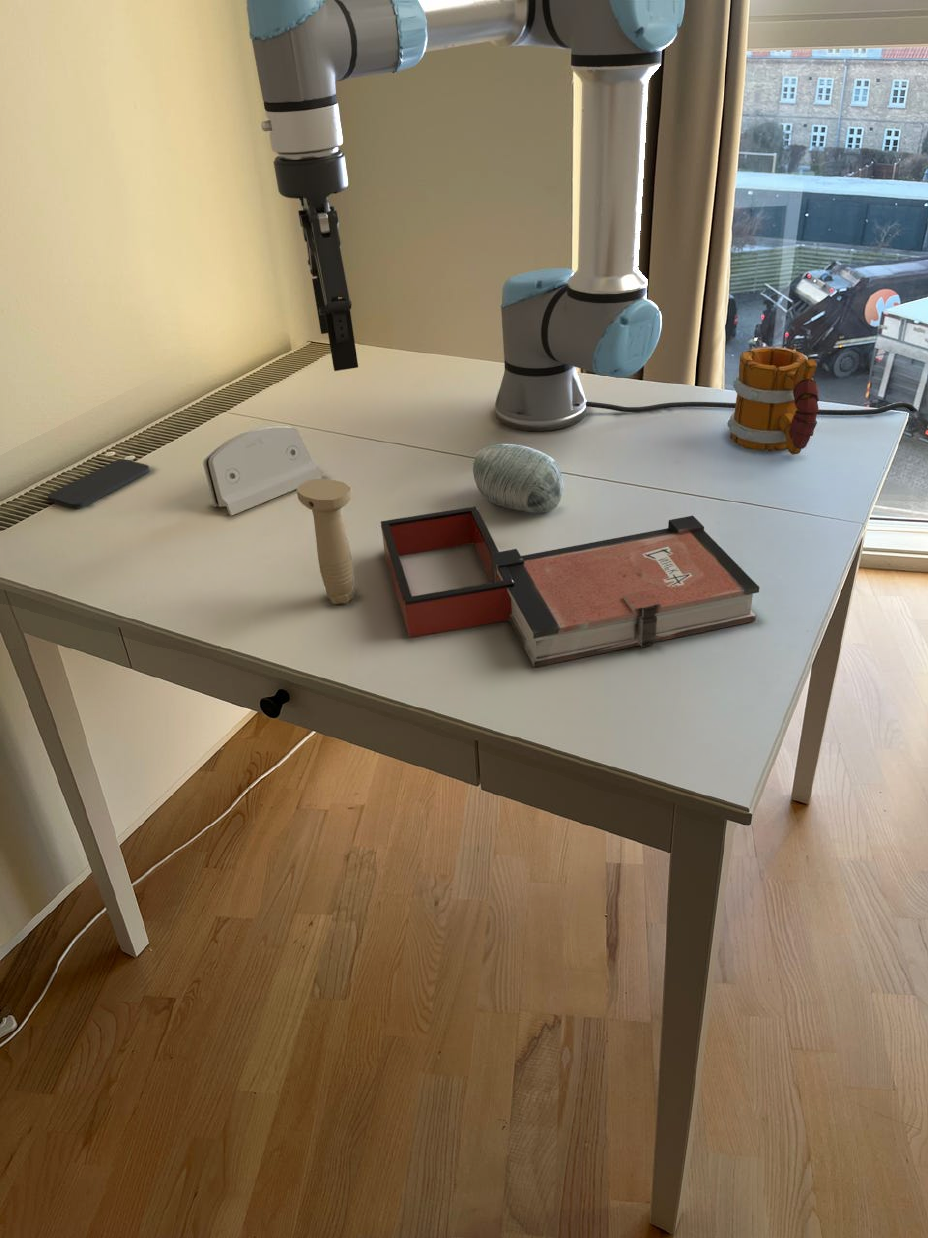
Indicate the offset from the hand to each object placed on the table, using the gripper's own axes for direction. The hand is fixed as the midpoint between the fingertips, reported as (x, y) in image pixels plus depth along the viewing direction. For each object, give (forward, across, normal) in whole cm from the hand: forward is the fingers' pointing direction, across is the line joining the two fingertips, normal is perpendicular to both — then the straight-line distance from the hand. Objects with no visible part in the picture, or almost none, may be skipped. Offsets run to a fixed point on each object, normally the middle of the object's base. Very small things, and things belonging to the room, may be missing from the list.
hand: (338, 349), depth 113 cm
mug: (+28, -10, +64) cm, 71 cm away
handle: (+27, +12, -5) cm, 30 cm away
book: (+27, +24, +26) cm, 45 cm away
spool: (+28, -5, +22) cm, 36 cm away
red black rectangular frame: (+27, +13, +8) cm, 31 cm away
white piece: (+27, -22, -13) cm, 37 cm away
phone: (+27, -32, -38) cm, 56 cm away
